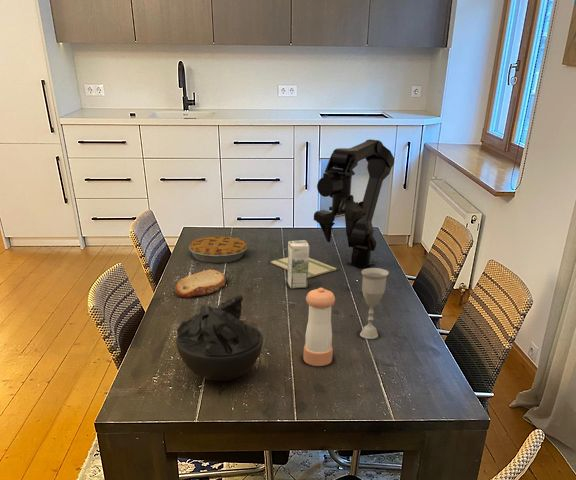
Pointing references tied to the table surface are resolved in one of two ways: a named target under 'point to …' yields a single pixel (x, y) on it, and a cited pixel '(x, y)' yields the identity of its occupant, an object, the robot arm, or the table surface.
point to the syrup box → (298, 264)
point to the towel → (313, 267)
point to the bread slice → (200, 284)
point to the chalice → (372, 296)
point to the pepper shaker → (319, 328)
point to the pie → (218, 249)
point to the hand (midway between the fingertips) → (338, 239)
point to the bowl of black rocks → (219, 342)
